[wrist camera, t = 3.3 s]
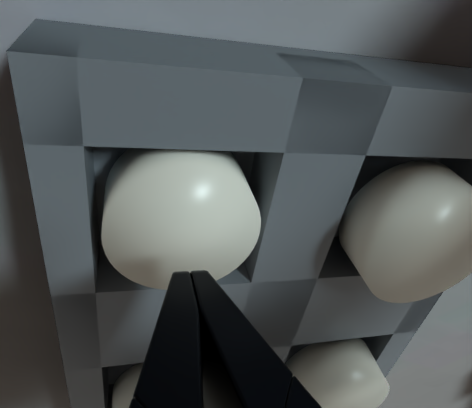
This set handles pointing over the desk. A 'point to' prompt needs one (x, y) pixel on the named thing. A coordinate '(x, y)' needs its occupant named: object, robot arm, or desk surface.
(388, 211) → the button
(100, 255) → the button board
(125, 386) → the button
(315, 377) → the button
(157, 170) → the button
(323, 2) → the desk surface
